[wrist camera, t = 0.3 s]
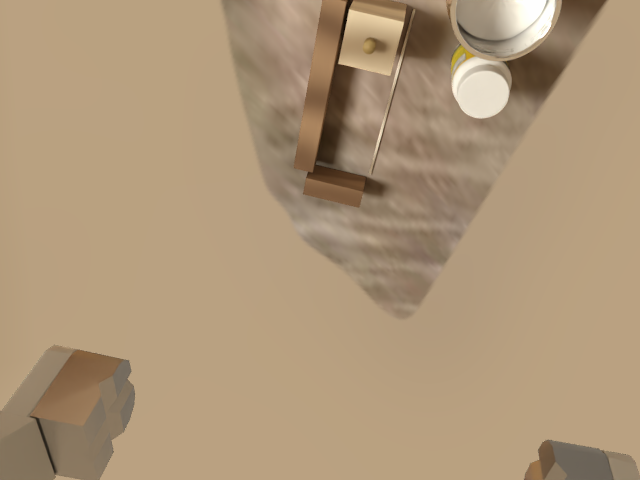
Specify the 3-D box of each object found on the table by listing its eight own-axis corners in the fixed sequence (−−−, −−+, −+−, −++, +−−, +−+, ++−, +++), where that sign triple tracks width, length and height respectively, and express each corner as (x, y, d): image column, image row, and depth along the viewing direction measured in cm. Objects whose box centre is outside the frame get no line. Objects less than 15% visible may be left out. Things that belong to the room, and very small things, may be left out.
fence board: (327, -11, 50) (322, -3, 48) (415, 9, 50) (414, 19, 47) (294, 176, 62) (289, 190, 59) (365, 193, 62) (363, 208, 59)
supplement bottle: (516, 48, 50) (528, 83, 44) (485, 93, 53) (492, 133, 47) (468, 23, 50) (474, 55, 43) (440, 70, 53) (441, 107, 46)
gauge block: (356, -8, 50) (347, 13, 45) (406, 4, 50) (403, 26, 44) (346, 43, 53) (336, 68, 47) (393, 54, 53) (389, 81, 47)
